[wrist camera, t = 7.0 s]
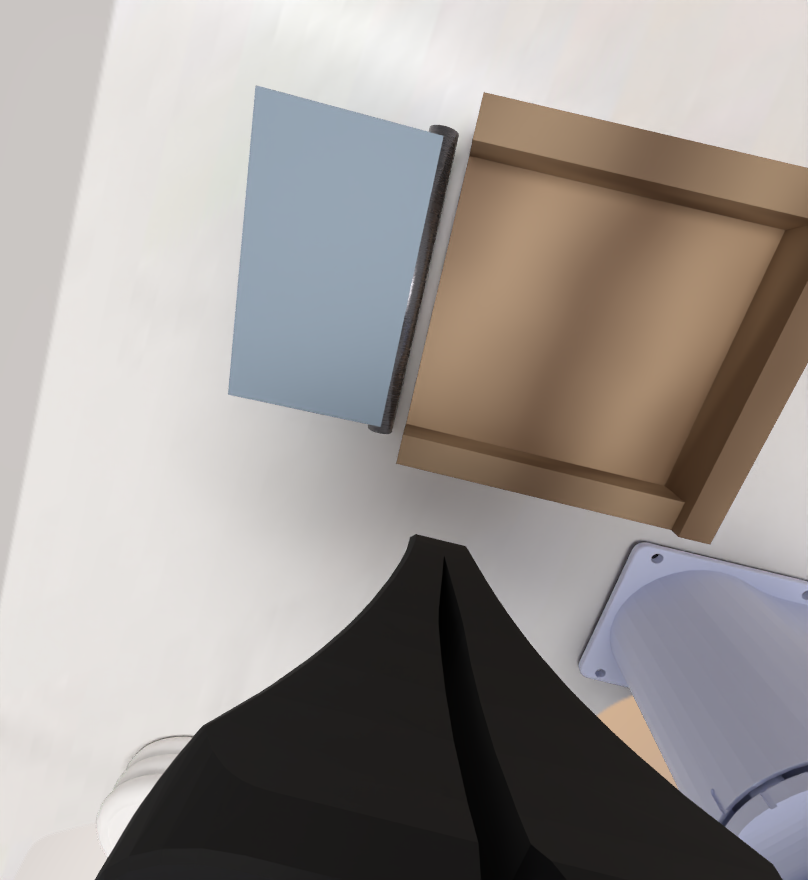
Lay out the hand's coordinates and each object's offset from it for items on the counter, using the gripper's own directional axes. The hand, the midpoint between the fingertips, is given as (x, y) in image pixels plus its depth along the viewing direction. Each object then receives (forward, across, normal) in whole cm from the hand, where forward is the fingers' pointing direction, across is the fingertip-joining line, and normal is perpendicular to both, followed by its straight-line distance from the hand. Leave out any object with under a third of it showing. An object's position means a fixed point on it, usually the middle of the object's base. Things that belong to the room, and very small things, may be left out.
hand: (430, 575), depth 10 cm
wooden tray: (+9, -4, -6) cm, 12 cm away
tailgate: (+8, +2, -6) cm, 10 cm away
